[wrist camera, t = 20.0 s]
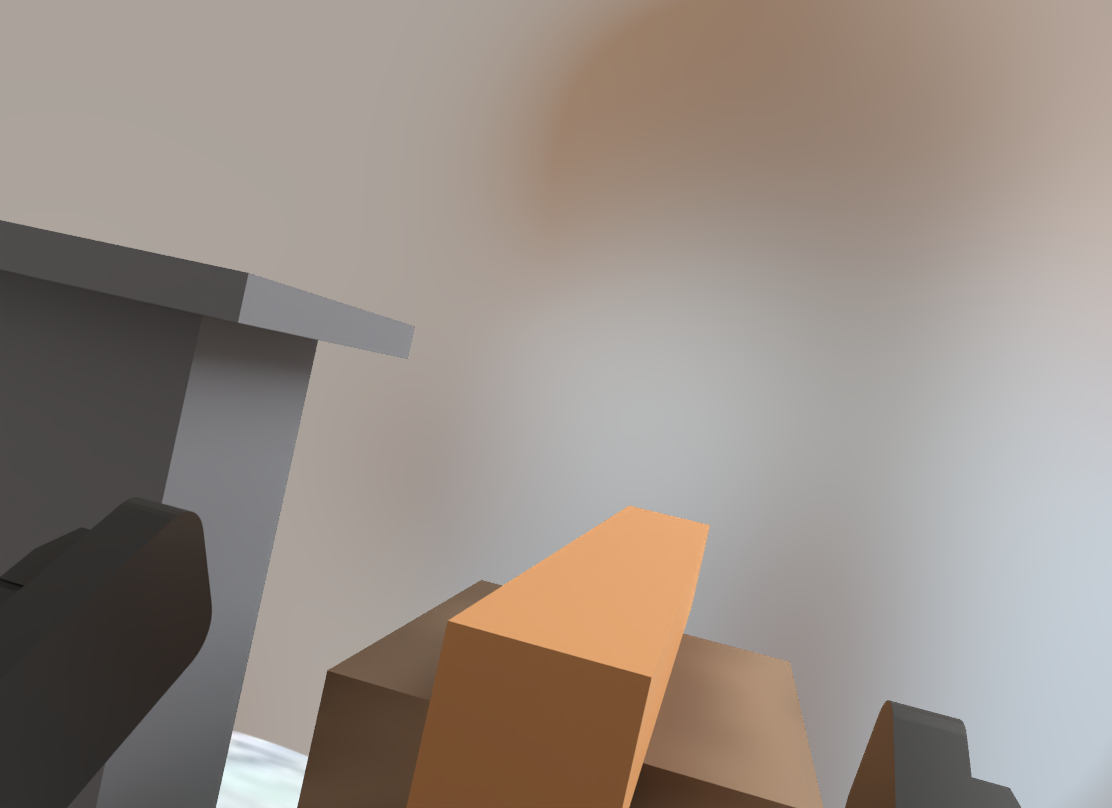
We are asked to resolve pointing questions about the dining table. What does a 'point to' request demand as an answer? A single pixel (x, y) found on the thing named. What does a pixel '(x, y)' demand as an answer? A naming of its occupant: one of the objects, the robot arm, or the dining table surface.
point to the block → (561, 672)
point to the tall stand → (160, 448)
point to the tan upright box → (673, 752)
